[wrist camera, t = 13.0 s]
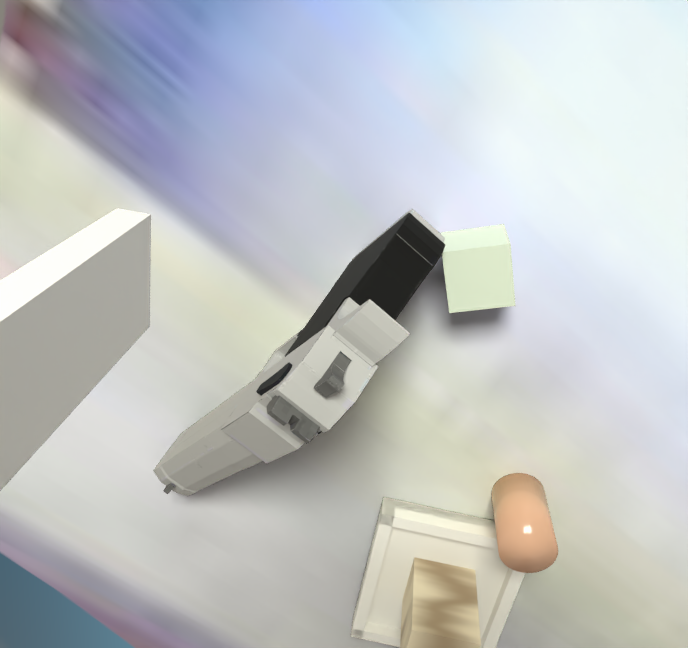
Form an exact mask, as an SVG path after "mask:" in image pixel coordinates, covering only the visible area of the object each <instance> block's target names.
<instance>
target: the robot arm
mask: <svg viewBox="0 0 688 648" xmlns="http://www.w3.org/2000/svg"><path fill="white" fill-rule="evenodd" d="M150 245H151V214H146V213H140V212H135V211H129V210H123V209H118V208H117V209H115V210H113V211H112V212H110V213H109V214H107V215H105V216H104V217H102V218H101V219H99V220H97V221H96V222H94V223H92V224H91V225H89V226H88V227H86V228H84V229H83V230H81V231H80V232H78V233H76V234H75V235H73V236H71V237H70V238H68V239H67V240H65V241H63V242H62V243H60V244H59V245H57V246H55V247H54V248H52V249H50V250H49V251H47V252H46V253H44V254H42V255H41V256H39V257H38V258H36V259H34V260H33V261H31V262H29V263H28V264H26V265H25V266H23V267H21V268H20V269H18V270H17V271H15V272H13V273H12V274H10V275H8V276H7V277H5V278H4V279H2V280H0V491H1V490H2V489H3V487H4V486H5V485H6V484H7V483H8V482H9V481H10V480H11V479H12V478H13V476H14V475H15V474H16V473H17V472H18V471H19V470H20V469H21V468H22V467H23V465H24V464H25V463H26V462H27V461H28V460H29V459H30V458H31V457H32V455H33V454H34V453H35V452H36V451H37V450H38V449H39V448H40V447H41V446H42V444H43V443H44V442H45V441H46V440H47V439H48V438H49V437H50V436H51V435H52V433H53V432H54V431H55V430H56V429H57V428H58V427H59V426H60V425H61V424H62V422H63V421H64V420H65V419H66V418H67V417H68V416H69V415H70V414H71V413H72V411H73V410H74V409H75V408H76V407H77V406H78V405H79V404H80V403H81V401H82V400H83V399H84V398H85V397H86V396H87V395H88V394H89V393H90V392H91V390H92V389H93V388H94V387H95V386H96V385H97V384H98V383H99V382H100V381H101V379H102V378H103V377H104V376H105V375H106V374H107V373H108V372H109V371H110V370H111V368H112V367H113V366H114V365H115V364H116V363H117V362H118V361H119V360H120V359H121V357H122V356H123V355H124V354H125V353H126V352H127V351H128V350H129V349H130V347H131V346H132V345H133V344H134V343H135V342H136V341H137V340H138V339H139V338H140V336H141V335H142V334H143V333H144V332H145V331H146V330H147V329H148V328H149V327H150Z"/></svg>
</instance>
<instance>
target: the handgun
mask: <svg viewBox="0 0 688 648" xmlns="http://www.w3.org/2000/svg"><path fill="white" fill-rule="evenodd" d="M444 240H445V237H443V236H442V235H441V234H440V233H439V232H438V231H437V230H436V229H434V228H433V227H432V226H431V225H430V224H429V223H428V222H427V221H426V220H424V219H423V218H422V217H421V216H420V215H419V214H418V213H417V212H416V211H414V210H413V209H411V210H410V211H408V212H407V213H406V214H404V215H403V216H402V217H401V218H400V219H399V220H397V221H396V222H395V223H394V224H393V225H392V226H390V227H389V228H388V229H387V230H386V231H384V232H383V233H382V234H381V235H380V236H379V237H377V238H376V239H375V240H374V241H373V242H372V243H370V244H369V245H368V246H367V247H366V248H365V249H363V250H362V251H361V252H360V253H359V254H358V255H356V256H355V257H354V258H353V259H352V261H351V262H350V263H349V265H348V266H347V268H346V269H345V271H344V272H343V273H342V275H341V276H340V278H339V279H338V280H337V282H336V283H335V285H334V286H333V288H332V289H331V291H330V292H329V293H328V295H327V296H326V298H325V299H324V300H323V302H322V303H321V305H320V306H319V308H318V309H317V310H316V312H315V313H314V315H313V316H312V317H311V319H310V320H309V322H308V323H307V325H306V326H305V327H304V328H303V329H302V330H301V331H300V332H299V333H297V334H296V335H294V336H293V337H292V338H291V339H289V340H288V341H287V342H285V343H284V344H283V345H282V346H280V347H279V348H278V349H276V350H275V351H274V353H273V354H272V356H271V357H270V359H269V360H268V362H267V363H266V365H265V366H264V368H263V369H262V370H261V372H260V373H259V374H258V376H257V377H256V378H255V379H254V380H253V381H252V382H250V383H249V384H248V385H246V386H245V387H243V388H242V389H241V390H239V391H238V392H237V393H235V394H234V395H233V396H231V397H230V398H229V399H227V400H226V401H224V402H223V403H222V404H220V405H219V406H218V407H216V408H215V409H214V410H212V411H211V412H210V413H208V414H207V415H205V416H204V417H203V418H201V419H200V420H199V421H197V422H196V423H195V424H193V425H192V426H191V427H189V428H188V429H186V430H185V431H184V432H182V433H181V434H180V435H179V437H178V438H177V439H176V441H175V442H174V443H173V445H172V446H171V447H170V448H169V450H168V451H167V452H166V454H165V455H164V456H163V458H162V459H161V460H160V462H159V463H158V465H157V466H156V467H155V469H154V470H153V471H154V472H155V474H156V475H157V477H158V478H159V480H160V481H161V482H162V483H163V484H165V485H166V488H165V489H164V492H165V493H167V494H168V493H169V492H170V491H171V490H173V491H174V492H176V493H179V494H182V495H186V496H190V495H193V494H195V493H196V492H197V491H199V490H202V489H204V488H206V487H208V486H210V485H212V484H214V483H216V482H218V481H220V480H222V479H225V478H227V477H229V476H231V475H233V474H235V473H237V472H239V471H242V470H244V469H246V468H250V467H252V466H254V465H256V464H258V463H260V462H262V461H264V462H265V463H266V464H267V463H269V462H272V461H274V460H276V459H278V458H280V457H283V456H285V455H287V454H289V453H291V452H294V451H296V450H298V449H299V448H300V447H301V446H302V445H303V444H304V443H306V444H307V443H309V442H311V440H312V439H313V438H314V437H316V436H318V434H319V433H321V432H326V431H329V430H330V429H331V428H332V427H333V426H334V425H335V424H336V423H337V422H338V421H339V419H340V418H341V417H342V416H343V415H344V414H345V413H346V412H347V411H348V410H349V408H350V407H351V406H352V405H353V404H354V403H355V402H356V400H357V399H358V397H359V396H360V394H361V393H362V391H363V390H364V388H365V387H366V385H367V384H368V382H369V381H370V379H371V378H372V376H373V374H374V373H375V371H376V370H377V368H378V367H379V366H378V365H376V363H377V362H379V361H380V360H381V359H383V358H384V357H385V356H387V355H388V354H389V353H390V352H391V351H393V350H394V349H395V348H396V347H397V346H398V345H399V344H401V343H402V342H403V341H404V340H405V339H406V338H407V337H408V336H409V335H410V333H409V332H408V331H407V330H406V329H405V328H403V327H402V326H401V325H400V324H399V323H397V322H396V321H395V320H396V318H397V317H398V315H399V314H400V312H401V311H402V310H403V308H404V307H405V305H406V304H407V302H408V301H409V299H410V298H411V297H412V295H413V294H414V292H415V291H416V289H417V288H418V287H419V285H420V284H421V283H422V281H423V280H424V279H425V277H426V276H427V275H428V274H429V272H430V271H431V270H432V268H433V267H434V266H435V264H436V263H437V261H438V260H439V258H440V256H441V255H442V253H443V251H444V248H445V244H444V243H443V242H444Z"/></svg>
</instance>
